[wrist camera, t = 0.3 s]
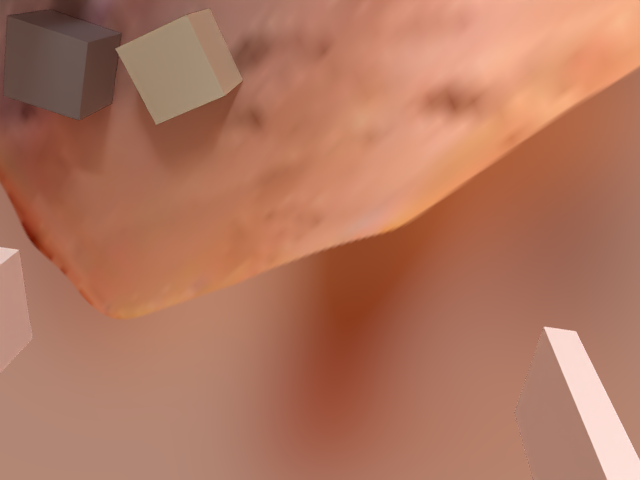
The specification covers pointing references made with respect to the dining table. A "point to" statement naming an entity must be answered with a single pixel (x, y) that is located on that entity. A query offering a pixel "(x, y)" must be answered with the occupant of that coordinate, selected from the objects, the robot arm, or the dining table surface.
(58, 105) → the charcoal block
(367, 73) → the dining table surface
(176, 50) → the sage block
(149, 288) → the dining table surface
